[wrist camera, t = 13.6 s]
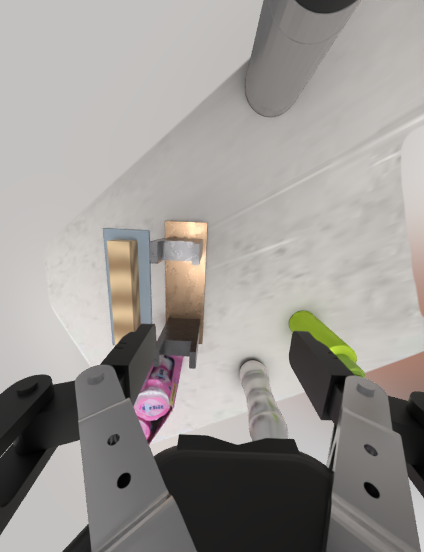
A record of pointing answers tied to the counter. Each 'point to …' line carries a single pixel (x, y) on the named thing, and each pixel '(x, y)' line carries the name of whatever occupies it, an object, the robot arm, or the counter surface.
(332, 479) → the robot arm
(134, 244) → the oak rail
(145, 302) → the slate mat
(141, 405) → the gum box
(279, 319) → the counter surface
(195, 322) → the hook rack
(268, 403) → the plastic bottle
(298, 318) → the soap dispenser
